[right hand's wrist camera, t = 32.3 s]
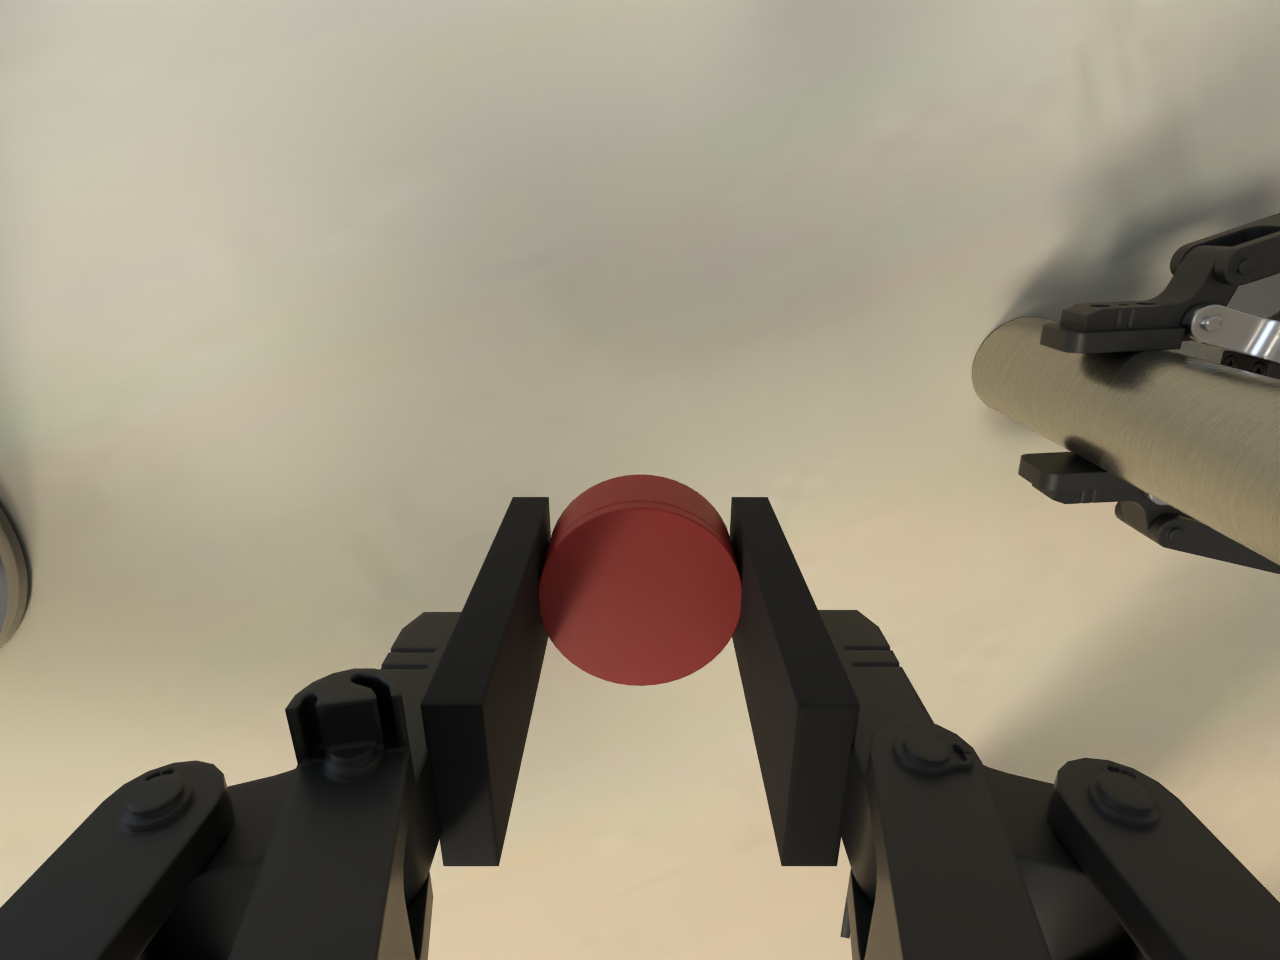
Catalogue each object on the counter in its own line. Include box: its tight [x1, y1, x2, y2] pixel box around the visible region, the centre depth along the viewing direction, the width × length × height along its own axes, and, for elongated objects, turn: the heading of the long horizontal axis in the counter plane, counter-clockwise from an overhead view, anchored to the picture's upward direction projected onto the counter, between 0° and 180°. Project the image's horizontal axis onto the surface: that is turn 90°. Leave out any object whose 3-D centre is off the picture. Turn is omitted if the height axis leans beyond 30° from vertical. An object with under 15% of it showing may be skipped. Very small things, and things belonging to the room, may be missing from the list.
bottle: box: [972, 317, 1280, 565], centre depth 21 cm, size 4×4×22 cm
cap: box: [539, 475, 742, 686], centre depth 14 cm, size 4×4×2 cm
